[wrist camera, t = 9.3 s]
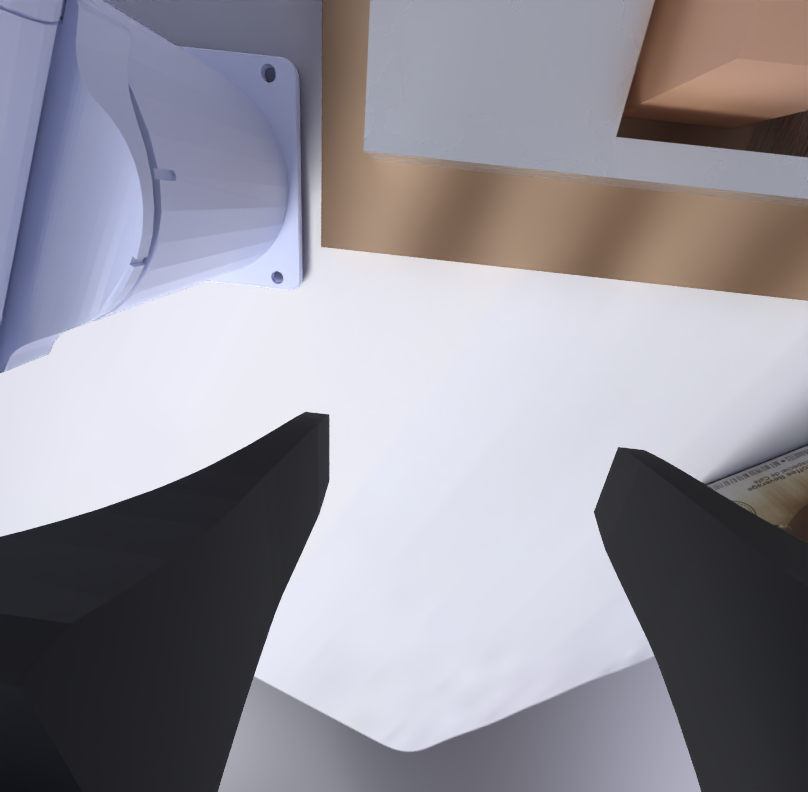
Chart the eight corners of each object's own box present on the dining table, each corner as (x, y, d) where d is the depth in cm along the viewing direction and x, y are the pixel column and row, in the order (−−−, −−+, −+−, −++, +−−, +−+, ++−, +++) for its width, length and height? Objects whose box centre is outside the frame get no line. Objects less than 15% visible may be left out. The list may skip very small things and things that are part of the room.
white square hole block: (375, 160, 14) (363, 150, 12) (393, -153, 11) (382, -267, 8) (925, 220, 14) (1040, 224, 12) (1113, -81, 11) (1338, -173, 8)
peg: (614, 115, 13) (737, 58, 8) (660, -48, 12) (856, -260, 6) (732, 128, 13) (933, 79, 8) (795, -34, 12) (1109, -236, 6)
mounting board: (327, 244, 17) (321, 246, 16) (333, -311, 11) (323, -358, 10) (894, 307, 17) (921, 313, 16) (1241, -223, 10) (1319, -264, 9)
